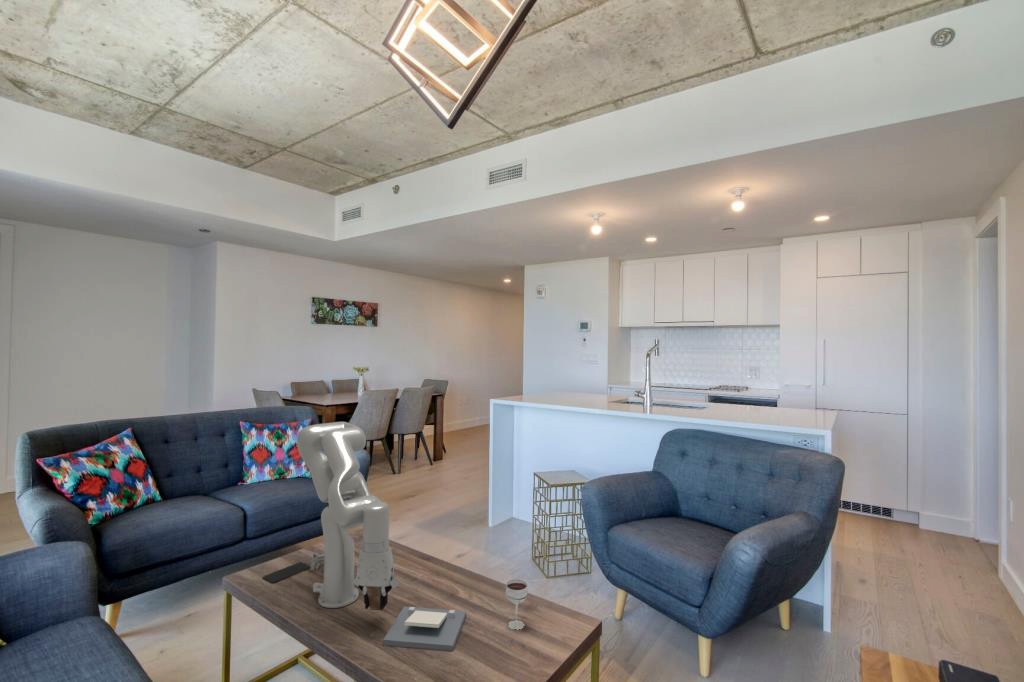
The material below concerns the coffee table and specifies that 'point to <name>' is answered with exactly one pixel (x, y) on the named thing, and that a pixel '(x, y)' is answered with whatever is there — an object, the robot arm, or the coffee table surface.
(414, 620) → the tile
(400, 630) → the board
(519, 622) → the wineglass
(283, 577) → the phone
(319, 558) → the caliper
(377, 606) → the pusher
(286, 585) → the coffee table surface
